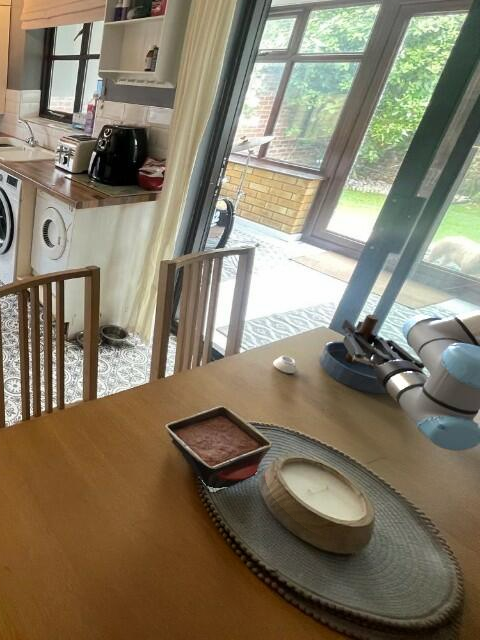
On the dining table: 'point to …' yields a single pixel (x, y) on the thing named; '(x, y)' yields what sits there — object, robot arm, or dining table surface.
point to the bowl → (349, 369)
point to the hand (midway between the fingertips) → (352, 324)
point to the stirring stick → (365, 331)
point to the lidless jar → (285, 364)
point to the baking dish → (219, 446)
